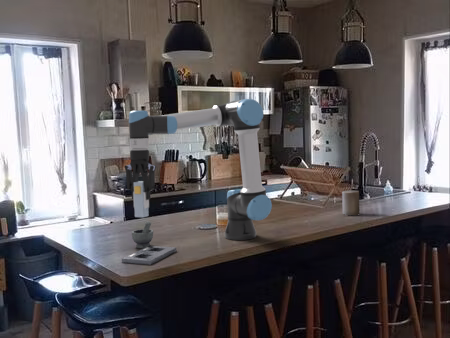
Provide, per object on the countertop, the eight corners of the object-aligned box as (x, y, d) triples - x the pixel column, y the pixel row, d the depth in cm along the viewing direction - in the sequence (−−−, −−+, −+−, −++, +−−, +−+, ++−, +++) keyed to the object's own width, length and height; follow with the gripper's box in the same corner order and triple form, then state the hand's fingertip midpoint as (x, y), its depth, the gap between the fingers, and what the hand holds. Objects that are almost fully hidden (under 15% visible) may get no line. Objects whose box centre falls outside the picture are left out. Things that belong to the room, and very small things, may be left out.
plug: (148, 215, 196) (147, 181, 195) (142, 217, 192) (141, 182, 191) (140, 215, 198) (139, 181, 197) (133, 217, 194) (132, 182, 192)
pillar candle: (363, 214, 281) (362, 188, 280) (351, 216, 276) (351, 190, 275) (350, 212, 289) (349, 187, 288) (338, 214, 284) (338, 189, 283)
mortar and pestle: (128, 246, 220) (127, 220, 219) (146, 242, 226) (145, 217, 225) (141, 250, 212) (140, 223, 211) (159, 246, 218) (158, 220, 217)
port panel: (150, 249, 213) (149, 245, 213) (176, 251, 209) (176, 247, 208) (121, 262, 193) (121, 258, 193) (150, 264, 188) (150, 260, 188)
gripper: (116, 150, 193) (118, 208, 195) (153, 149, 187) (155, 209, 188) (126, 149, 200) (128, 205, 202) (162, 149, 194) (164, 207, 195)
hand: (141, 207), depth 195 cm, fingers closed on plug, 4 cm apart
